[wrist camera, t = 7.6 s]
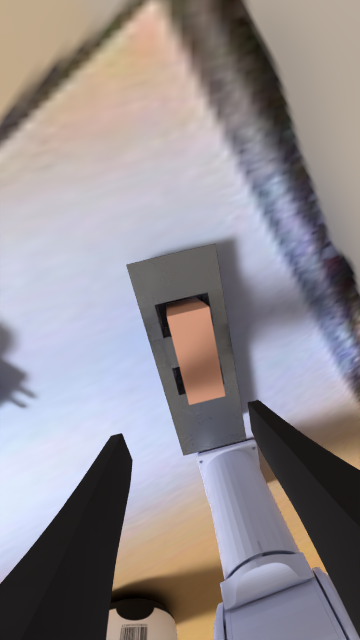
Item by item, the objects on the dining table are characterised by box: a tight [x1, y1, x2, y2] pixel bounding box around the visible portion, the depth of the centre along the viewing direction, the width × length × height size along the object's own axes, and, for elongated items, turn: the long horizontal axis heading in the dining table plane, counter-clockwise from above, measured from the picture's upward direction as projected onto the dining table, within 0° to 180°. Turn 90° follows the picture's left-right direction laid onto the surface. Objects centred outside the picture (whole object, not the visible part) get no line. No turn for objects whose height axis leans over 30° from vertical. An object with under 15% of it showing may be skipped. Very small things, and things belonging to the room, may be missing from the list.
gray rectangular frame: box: [126, 244, 246, 455], centre depth 17 cm, size 20×7×3 cm, turn 13°
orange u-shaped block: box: [166, 297, 225, 405], centre depth 15 cm, size 8×3×6 cm, turn 13°
